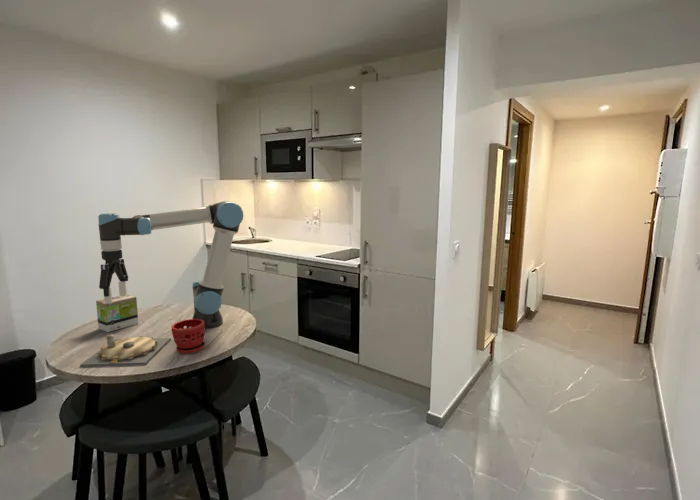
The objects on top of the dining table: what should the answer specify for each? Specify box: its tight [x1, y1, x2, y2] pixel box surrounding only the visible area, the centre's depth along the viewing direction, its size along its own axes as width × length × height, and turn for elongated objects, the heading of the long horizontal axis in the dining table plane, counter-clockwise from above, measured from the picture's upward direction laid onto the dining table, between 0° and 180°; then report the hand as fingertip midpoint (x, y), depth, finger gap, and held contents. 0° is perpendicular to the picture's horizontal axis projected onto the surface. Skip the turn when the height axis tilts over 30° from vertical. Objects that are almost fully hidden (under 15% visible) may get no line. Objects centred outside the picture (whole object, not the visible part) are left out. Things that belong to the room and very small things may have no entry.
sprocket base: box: [79, 337, 172, 368], centre depth 163 cm, size 25×25×2 cm
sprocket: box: [97, 333, 158, 361], centre depth 162 cm, size 22×22×6 cm
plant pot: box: [171, 318, 206, 355], centre depth 165 cm, size 13×13×12 cm
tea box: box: [95, 294, 139, 333], centre depth 193 cm, size 15×10×15 cm
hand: (116, 299), depth 166 cm, fingers open, 11 cm apart
